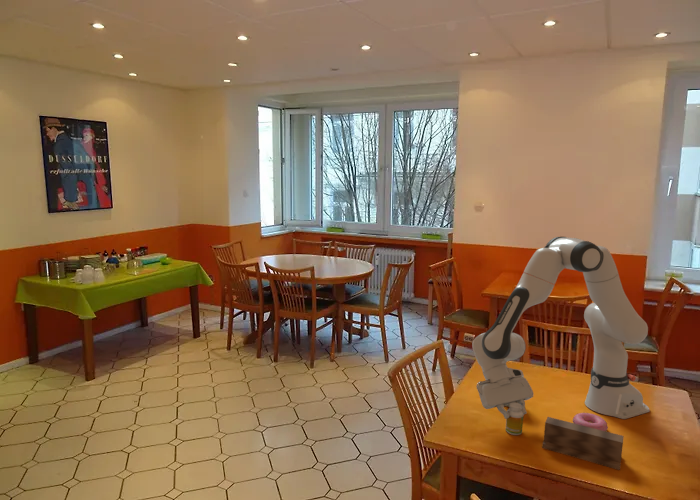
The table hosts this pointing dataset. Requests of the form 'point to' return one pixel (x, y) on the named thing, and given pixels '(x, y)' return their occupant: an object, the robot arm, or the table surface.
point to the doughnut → (590, 421)
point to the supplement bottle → (514, 419)
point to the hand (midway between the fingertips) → (516, 416)
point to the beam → (583, 442)
